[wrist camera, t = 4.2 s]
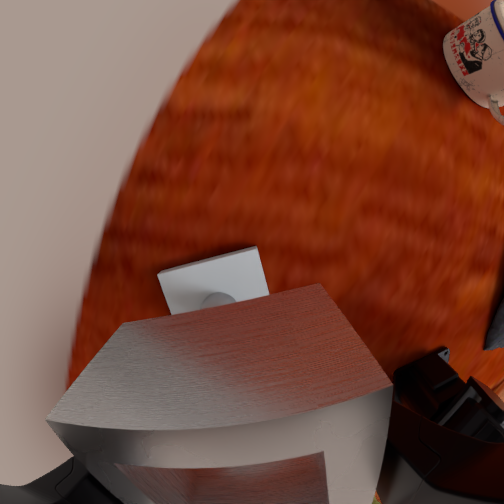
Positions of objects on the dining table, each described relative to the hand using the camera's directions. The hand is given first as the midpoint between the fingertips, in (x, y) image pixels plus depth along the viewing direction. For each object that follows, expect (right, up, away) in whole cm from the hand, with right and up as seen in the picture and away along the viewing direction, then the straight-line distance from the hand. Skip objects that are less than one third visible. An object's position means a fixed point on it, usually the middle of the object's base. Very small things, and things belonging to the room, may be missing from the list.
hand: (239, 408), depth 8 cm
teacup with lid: (+22, +22, +8) cm, 32 cm away
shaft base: (-2, +1, +12) cm, 12 cm away
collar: (0, 0, +1) cm, 1 cm away
